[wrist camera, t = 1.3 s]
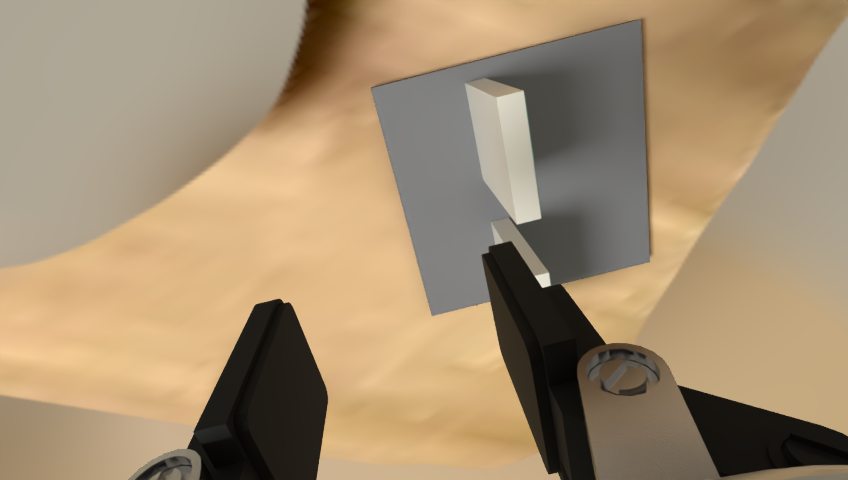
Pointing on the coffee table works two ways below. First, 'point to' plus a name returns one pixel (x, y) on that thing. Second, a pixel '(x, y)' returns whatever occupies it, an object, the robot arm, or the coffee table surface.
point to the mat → (553, 155)
